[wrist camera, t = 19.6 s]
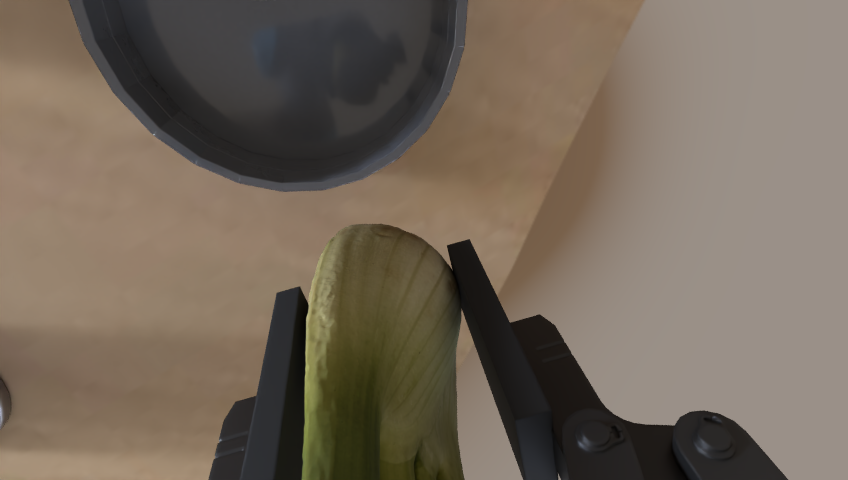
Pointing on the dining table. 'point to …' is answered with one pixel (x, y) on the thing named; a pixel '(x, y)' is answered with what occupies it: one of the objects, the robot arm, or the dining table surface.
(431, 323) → the fennel bulb
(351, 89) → the pan
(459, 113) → the dining table surface
